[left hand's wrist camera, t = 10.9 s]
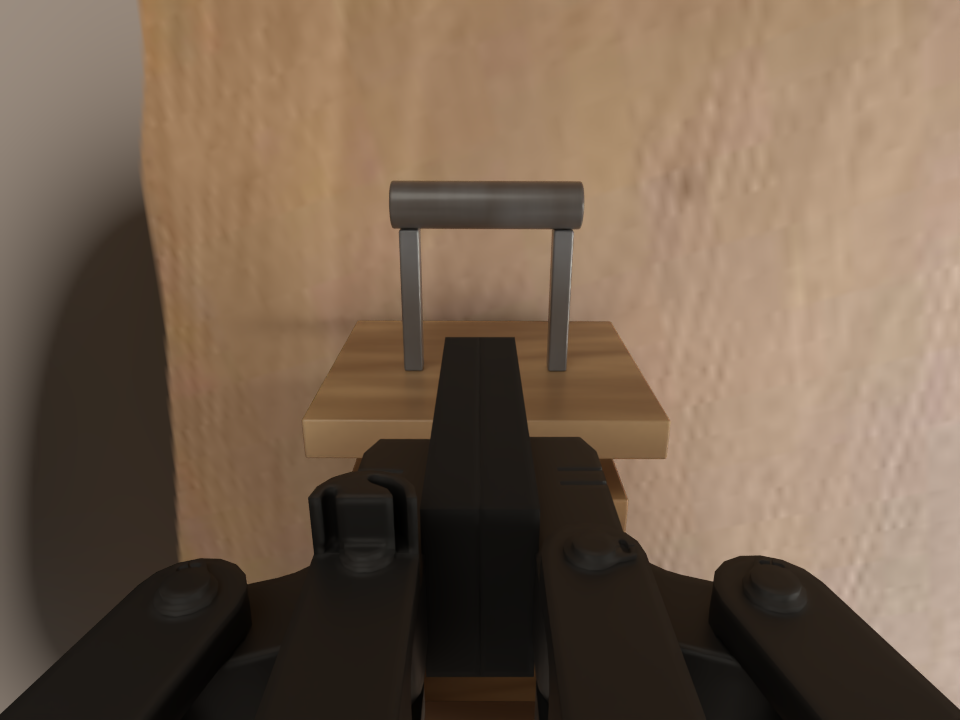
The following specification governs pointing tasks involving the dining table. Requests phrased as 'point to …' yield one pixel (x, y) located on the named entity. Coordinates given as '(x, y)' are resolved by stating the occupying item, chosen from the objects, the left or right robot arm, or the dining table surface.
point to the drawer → (540, 344)
